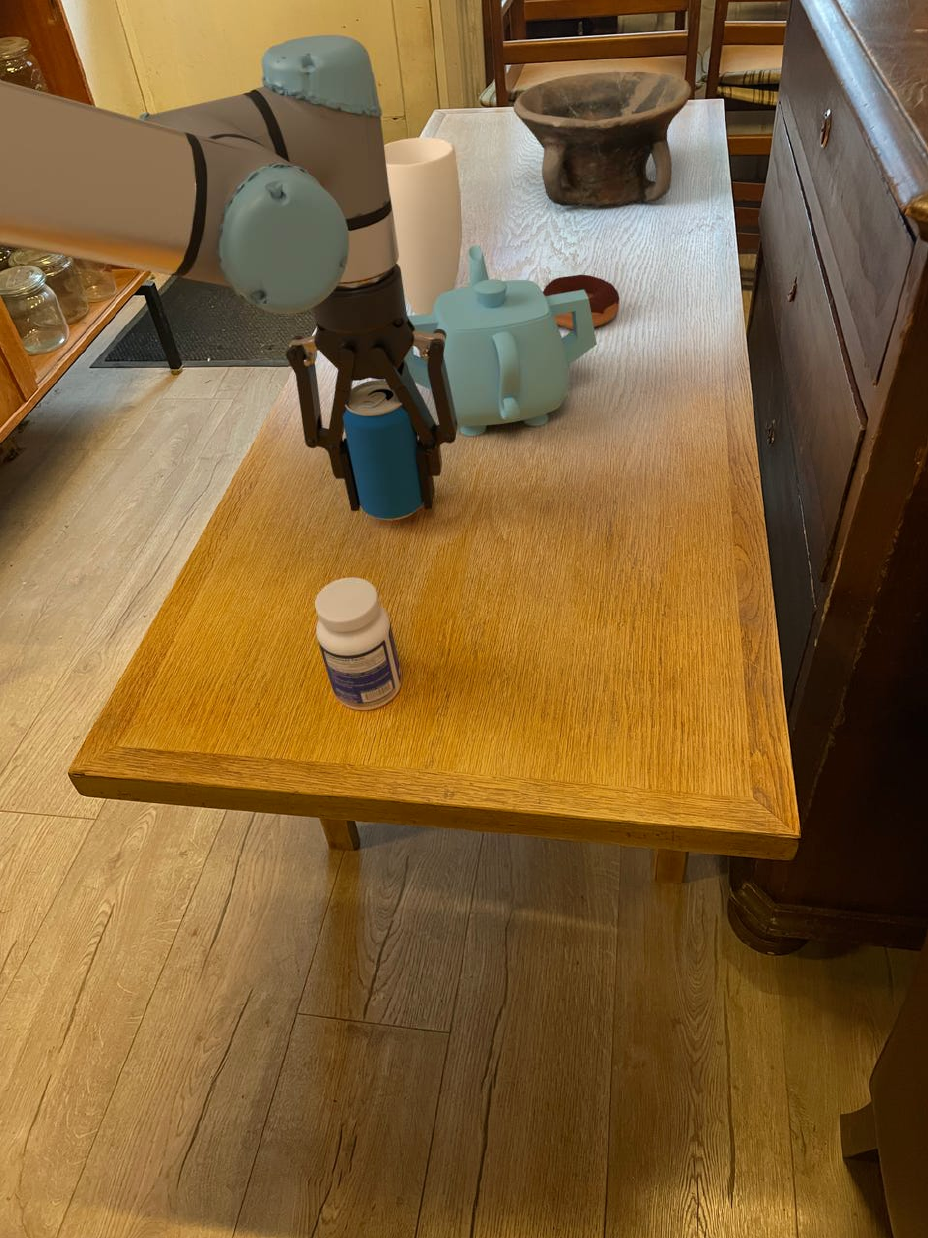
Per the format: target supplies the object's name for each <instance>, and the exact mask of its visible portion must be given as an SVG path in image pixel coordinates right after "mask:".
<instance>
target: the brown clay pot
mask: <svg viewBox="0 0 928 1238" xmlns="http://www.w3.org/2000/svg"><path fill="white" fill-rule="evenodd" d="M691 94H692V87H691V85H690V84H689V82H688V81H687V80H686V79H684V78H681V77H678V76H675V75H672V74H667V73H666V74H664V73H655V72H645V71H617V70H616V71H615V70H614V71H604V72H589V73H582V74H581V73H579V74H575V75H568V76H562V77H558V78H554V79H550V80H548V81H545V82H541V83H537V84H535V85H532V86H531V87H528V88H526V89H525V90H524V91H522V92H521V93H520V94H519V95H518V97H517V98H516V100H515V101H514V103H513V111H514V113H515V115H516V116H517V117H518V118H519V119H520V121H521V122H522V123H523V124H524V125H525V127H526V128H527V129H528V130H529V132H530V133H531V134H532V135H533V136H534V137H535V139H536V140H537V142H538V143H539V145H540V146H541V147H542V148H543V150H544V151H543V157H542V165H541V177H542V180H543V184H544V189H545V194H546V195H547V197H548V199H549V200H550V201H551V202H552V203H553V204H555V205H558V206H561V207H570V206H571V207H576V206H579V205H580V206H584V207H615V206H616V207H617V206H620V205H626V204H632V203H641V204H646V203H654V202H657V201H659V200H661V199H663V198H664V197H665V196H666V195H667V194H668V192H669V190H670V189H671V185H672V178H673V177H672V176H673V163H672V156H671V155H672V154H671V149H670V145H669V142H668V131H669V127H670V125H671V123H672V121H673V120H674V119H675V117H676V116H677V115H678V114H679V113H680V112H681V111H682V110H683V109H684V107H685V106H686V104H687V103H688V101H689V99H690V96H691ZM650 156H651V157H652V161H653V164H654V166H655V181H654V180H653V181H652V180H650V179H649V178H648V174H647V163H648V161H649V158H650Z"/></svg>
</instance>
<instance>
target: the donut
mask: <svg viewBox="0 0 928 1238" xmlns="http://www.w3.org/2000/svg"><path fill="white" fill-rule="evenodd" d="M579 290H585V292H586V294H587V296H588V298H589V303H590V309H591V315H592V320H593V326H594V328H596V327H599V326H602V325H605V324H607V323H608V322H610V321H611V320H612V319H614V317H615V316H616V315H617V313H618V312H619V308H620V306H619V304H620V294H619V291H618V290H617V289H616V288H615V286H614V285H613V284H612V283H611V282H609V281H606V280H605V279H603V278H600V277H598V276H597V277H596V276H594V275H589V274H575V275H568V276H560V277H557V278H553V280H551V281H550V282H549V283H548V284H546V285H545V287H544V289H543V290H542V292H543V294H544V295H545V296H550V295H556V294H562V293H567V292H573V291H579ZM555 320H556V322H557V325H558V326H559V327H560V326H561V327H563V328H566V329H569V330H573V319H572V312H570V313H566V314H562V315H559V316H555Z"/></svg>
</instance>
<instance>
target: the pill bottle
mask: <svg viewBox="0 0 928 1238" xmlns="http://www.w3.org/2000/svg"><path fill="white" fill-rule="evenodd" d="M314 608H315V612H316V615H317V619H318V621H317V623H316V628H315V635H316V639H317V640H316V641H317V643H318V646H319V649H320V653H321V656H322V660H323V663H324V666H325V669H326V673H327V676H328V679H329V682H330V686H331V689H332V693H333V695H334V697H335V698H336V700H337V701H338V702H339V703H340V704H342V705H343V706H345V707H347V708H349V709H351V710H357V711H370V710H371V711H372V710H375V709H378V708H381V707H383V706H385V705H386V704H388V703H389V702H391V701H392V700H393V699H394V698H395V697H396V696H397V694H398V693H399V692H400V689H401V687H402V681H403V675H402V669H401V665H400V659H399V655H398V650H397V646H396V642H395V637H394V633H393V628H392V623H391V620H390V619H391V618H390V617H389V614H388V612H387V610H386V609H385V608H384V606H382V605H381V602H380V599H379V595H378V591H377V589H376V587H375V585H374V584H372V582H370V581H368V580H367V579H364V578H361V577H354V576H353V577H351V576H350V577H342V578H339V579H336V580H333V581H331V582H330V583H327V584H326V585H325V586H324V587H323V588H321V590H320V591H319V592H318V594H317V595H316V597H315V601H314Z"/></svg>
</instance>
